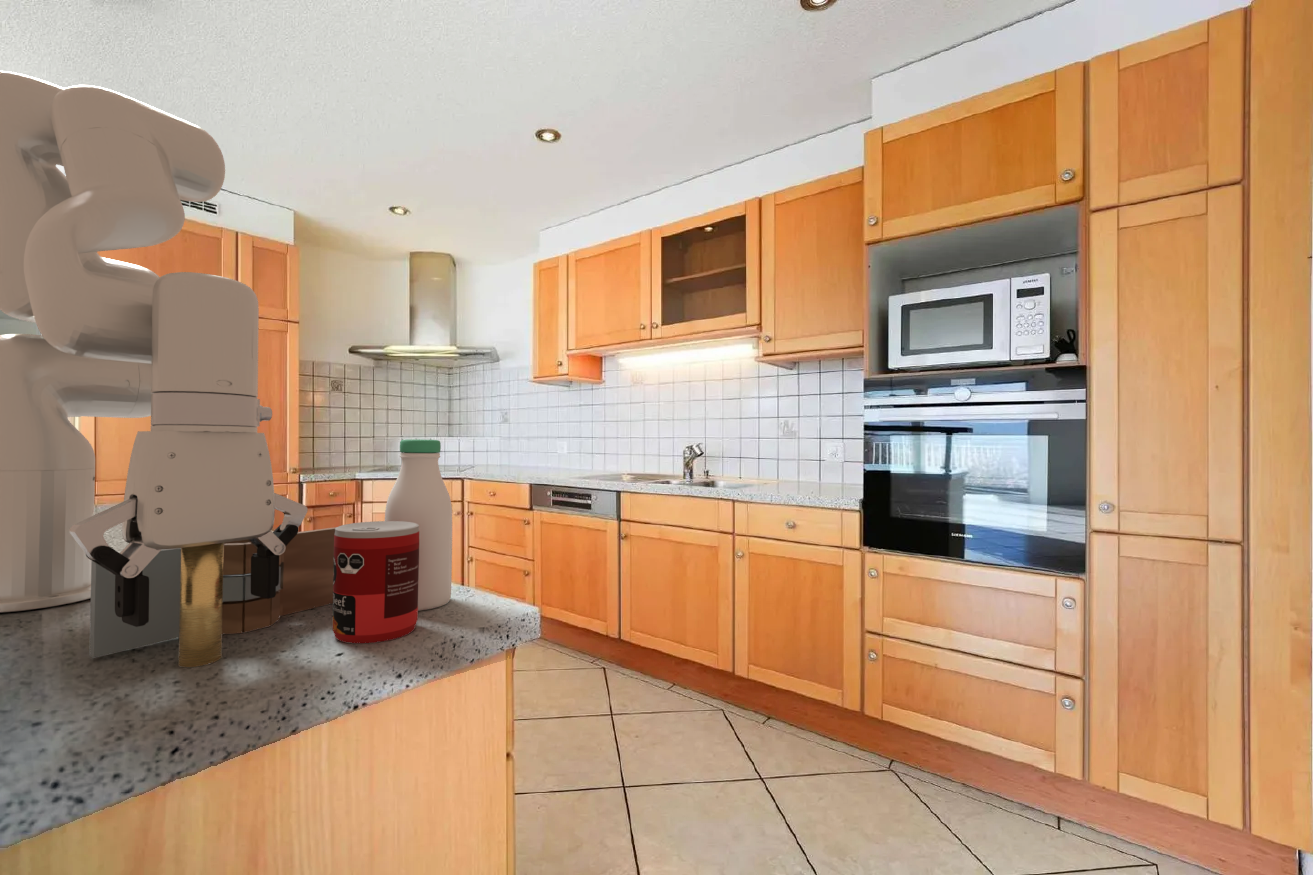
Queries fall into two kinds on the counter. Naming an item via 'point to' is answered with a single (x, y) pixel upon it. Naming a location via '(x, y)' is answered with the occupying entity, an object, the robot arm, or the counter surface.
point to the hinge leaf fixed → (282, 580)
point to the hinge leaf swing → (163, 605)
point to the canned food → (375, 581)
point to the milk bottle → (425, 517)
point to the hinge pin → (201, 605)
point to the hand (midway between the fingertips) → (204, 608)
